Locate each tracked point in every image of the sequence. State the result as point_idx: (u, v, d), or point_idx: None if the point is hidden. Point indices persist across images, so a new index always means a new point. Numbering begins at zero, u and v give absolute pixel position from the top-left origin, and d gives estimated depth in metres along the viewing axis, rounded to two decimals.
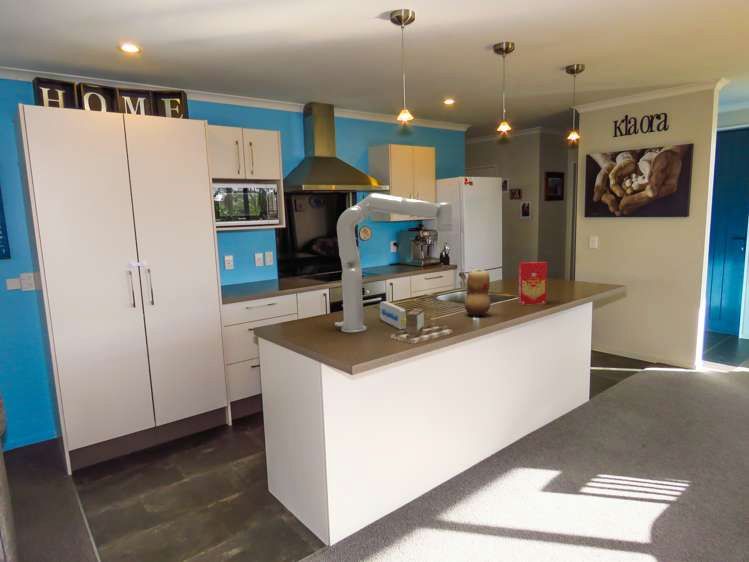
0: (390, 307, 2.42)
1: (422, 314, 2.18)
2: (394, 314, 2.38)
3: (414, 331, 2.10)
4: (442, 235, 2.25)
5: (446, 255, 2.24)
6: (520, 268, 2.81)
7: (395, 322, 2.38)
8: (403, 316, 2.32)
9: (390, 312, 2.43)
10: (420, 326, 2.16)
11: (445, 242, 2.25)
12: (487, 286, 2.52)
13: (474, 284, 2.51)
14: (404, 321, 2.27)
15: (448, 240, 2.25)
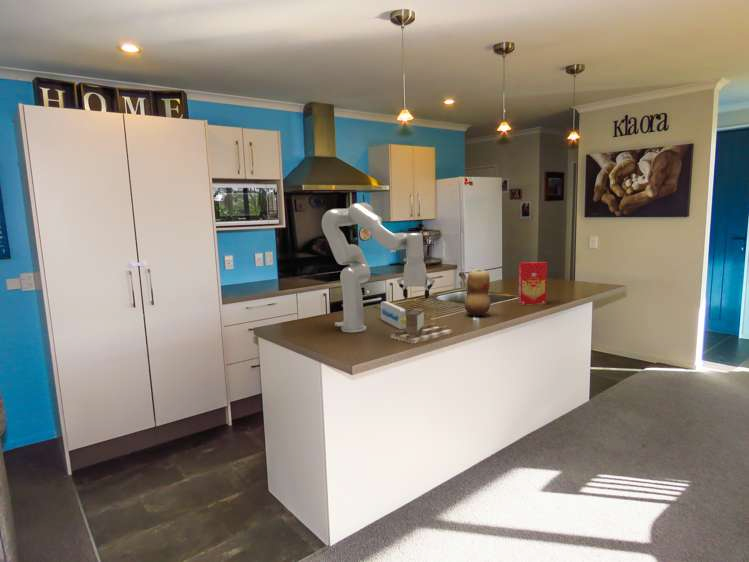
0: (390, 307, 2.42)
1: (422, 314, 2.18)
2: (394, 314, 2.38)
3: (414, 331, 2.10)
4: (424, 267, 2.10)
5: (429, 288, 2.12)
6: (520, 268, 2.81)
7: (395, 322, 2.38)
8: (403, 316, 2.32)
9: (390, 312, 2.43)
10: (420, 326, 2.16)
11: (426, 274, 2.12)
12: (487, 286, 2.52)
13: (474, 284, 2.51)
14: (404, 321, 2.27)
15: (426, 272, 2.13)
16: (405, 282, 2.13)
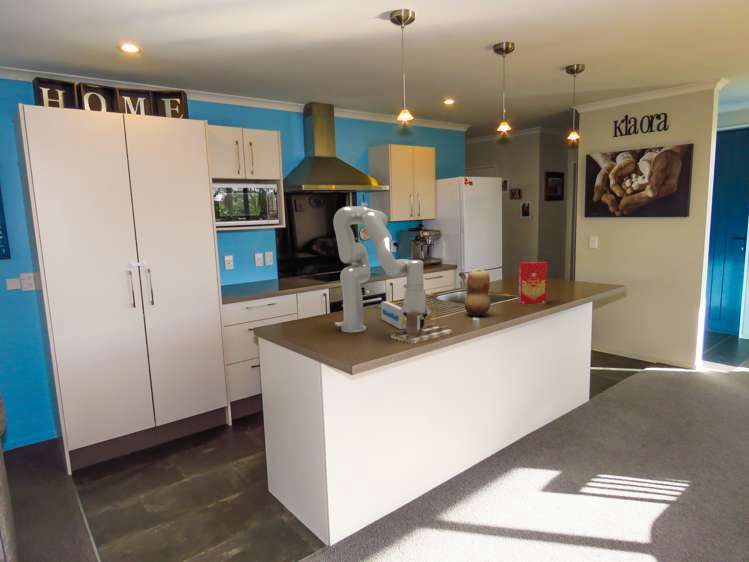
0: (391, 307, 2.43)
1: None
2: (394, 314, 2.38)
3: (414, 331, 2.10)
4: (424, 295, 2.12)
5: None
6: (520, 268, 2.81)
7: (395, 322, 2.38)
8: (403, 316, 2.32)
9: (391, 312, 2.43)
10: None
11: (425, 302, 2.14)
12: (487, 286, 2.52)
13: (474, 284, 2.51)
14: (404, 321, 2.27)
15: None
16: (405, 308, 2.15)
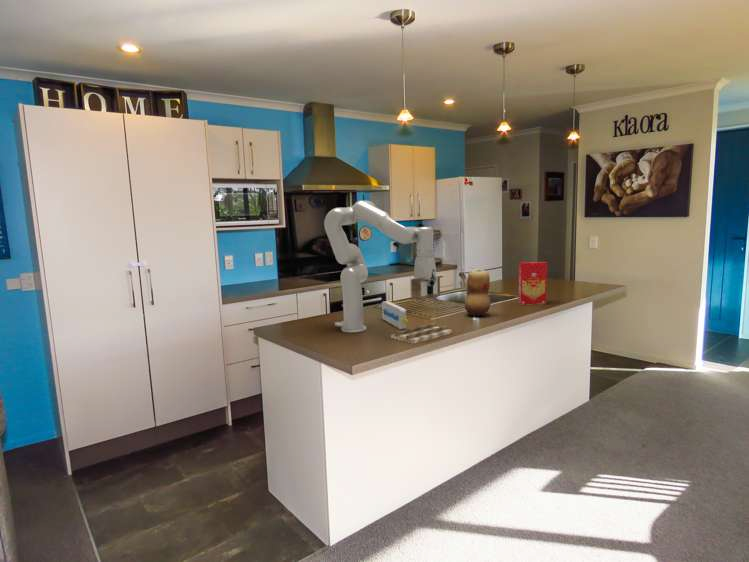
0: (391, 307, 2.43)
1: None
2: (395, 314, 2.39)
3: (416, 296, 2.14)
4: (429, 261, 2.13)
5: (432, 284, 2.15)
6: (520, 268, 2.81)
7: (396, 322, 2.38)
8: (403, 316, 2.32)
9: (391, 312, 2.43)
10: None
11: (432, 268, 2.14)
12: (487, 286, 2.52)
13: (474, 284, 2.51)
14: (404, 321, 2.28)
15: (434, 266, 2.15)
16: (415, 274, 2.20)
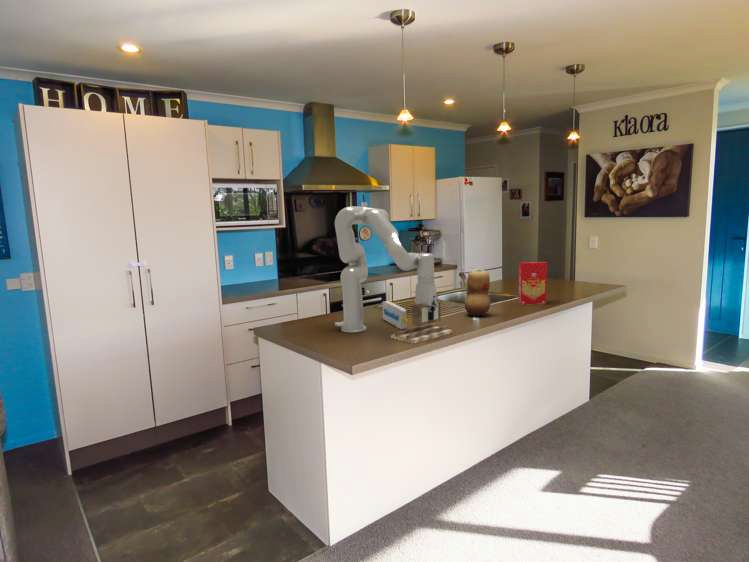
0: (391, 307, 2.43)
1: None
2: (395, 314, 2.39)
3: (417, 322, 2.16)
4: (430, 288, 2.15)
5: (433, 310, 2.17)
6: (520, 268, 2.81)
7: (396, 322, 2.38)
8: (404, 316, 2.32)
9: (391, 312, 2.43)
10: None
11: (433, 295, 2.16)
12: (487, 286, 2.52)
13: (474, 284, 2.51)
14: (404, 321, 2.28)
15: (435, 292, 2.17)
16: (416, 300, 2.21)
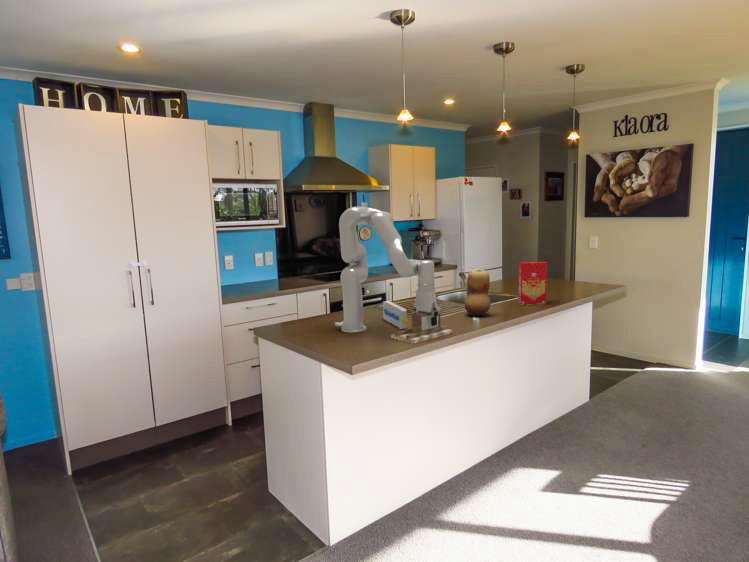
0: (392, 307, 2.43)
1: None
2: (395, 314, 2.39)
3: (417, 331, 2.17)
4: (430, 295, 2.15)
5: (436, 315, 2.16)
6: (520, 268, 2.81)
7: (396, 322, 2.38)
8: (404, 316, 2.32)
9: (392, 312, 2.44)
10: (428, 327, 2.19)
11: (433, 302, 2.16)
12: (487, 286, 2.52)
13: (474, 284, 2.51)
14: (404, 321, 2.28)
15: (435, 299, 2.17)
16: (416, 306, 2.22)
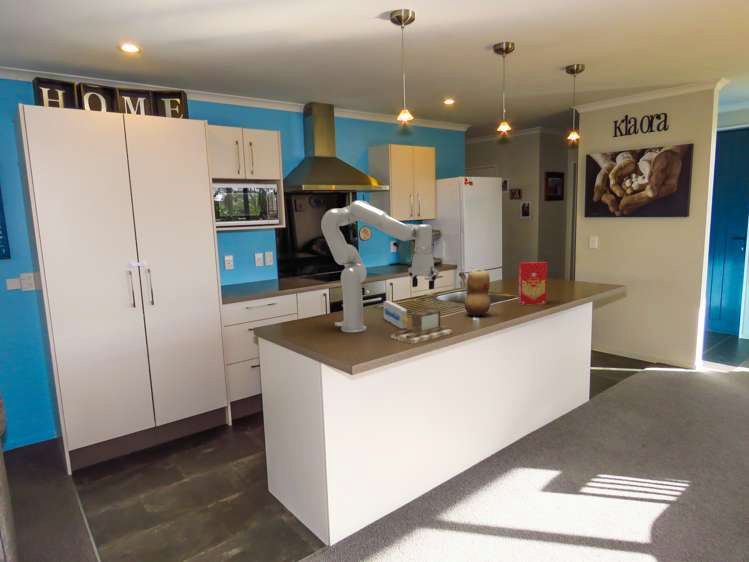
0: (392, 307, 2.43)
1: (434, 316, 2.21)
2: (396, 314, 2.39)
3: (417, 331, 2.17)
4: (429, 258, 2.16)
5: (434, 279, 2.18)
6: (520, 268, 2.81)
7: (397, 322, 2.39)
8: (404, 316, 2.32)
9: (392, 312, 2.44)
10: (428, 327, 2.19)
11: (431, 265, 2.18)
12: (487, 286, 2.52)
13: (474, 284, 2.51)
14: (405, 321, 2.28)
15: (433, 263, 2.19)
16: (412, 271, 2.22)
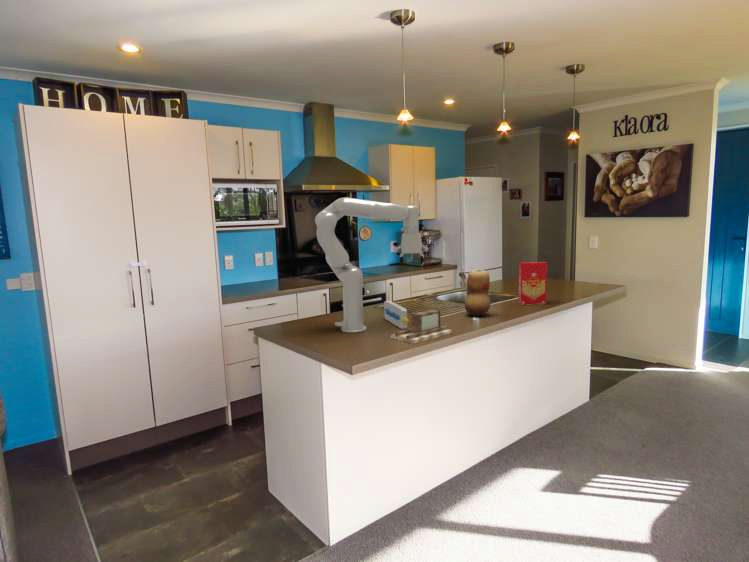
0: (393, 306, 2.43)
1: (434, 316, 2.21)
2: (396, 313, 2.39)
3: (417, 331, 2.17)
4: (420, 236, 2.37)
5: (424, 254, 2.40)
6: (520, 268, 2.81)
7: (397, 321, 2.39)
8: (404, 316, 2.32)
9: (393, 311, 2.44)
10: (428, 327, 2.19)
11: None
12: (487, 286, 2.52)
13: (474, 284, 2.51)
14: (405, 321, 2.28)
15: None
16: (404, 250, 2.37)
